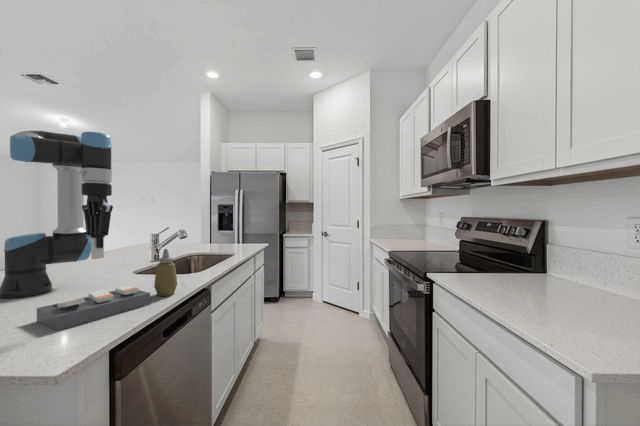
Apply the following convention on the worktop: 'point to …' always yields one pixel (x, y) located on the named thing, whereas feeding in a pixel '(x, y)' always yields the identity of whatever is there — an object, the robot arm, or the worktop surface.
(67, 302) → the rocker
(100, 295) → the middle rocker
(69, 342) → the worktop surface
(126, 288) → the rocker
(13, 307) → the worktop surface
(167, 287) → the squeeze bottle
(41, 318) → the power strip
